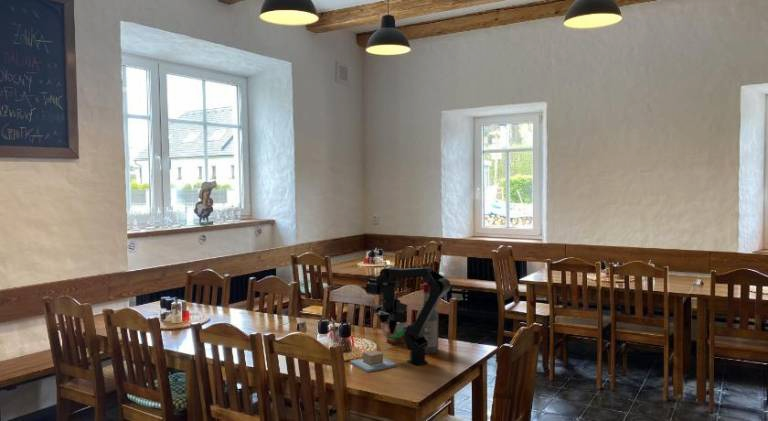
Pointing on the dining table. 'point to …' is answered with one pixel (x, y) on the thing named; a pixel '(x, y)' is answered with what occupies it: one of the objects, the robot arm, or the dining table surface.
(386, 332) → the terracotta block
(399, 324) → the food container
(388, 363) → the blueprint board
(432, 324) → the liquor
